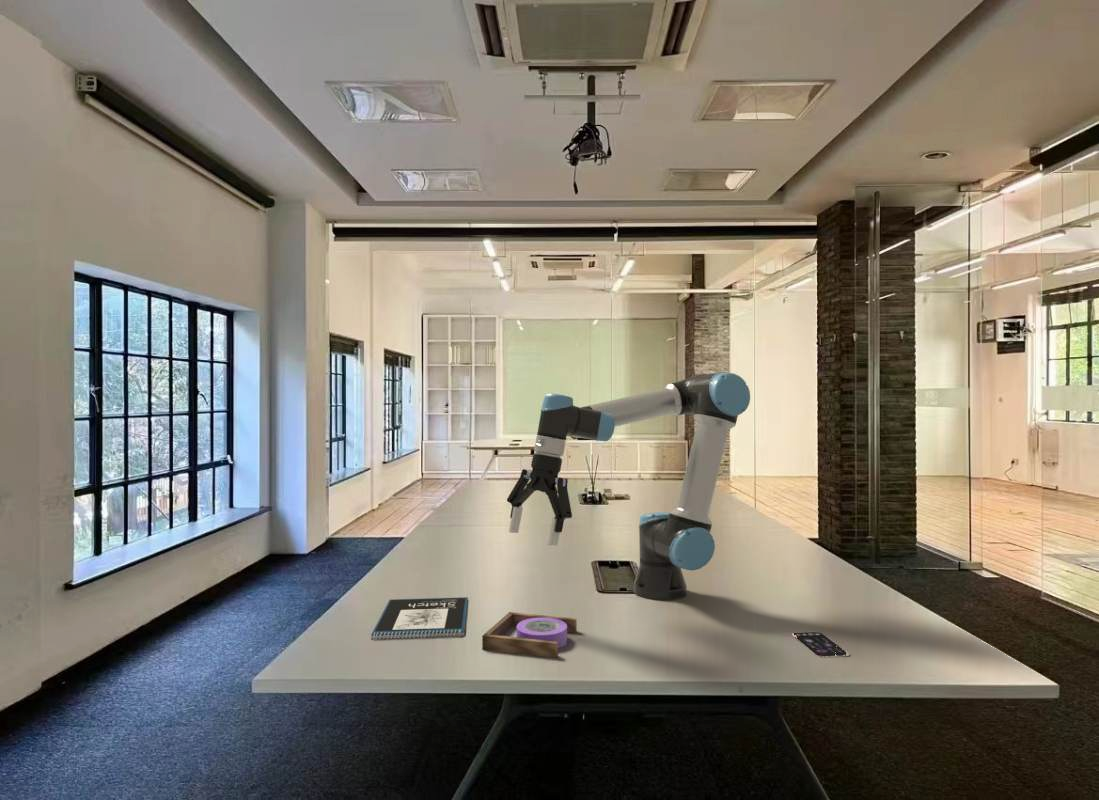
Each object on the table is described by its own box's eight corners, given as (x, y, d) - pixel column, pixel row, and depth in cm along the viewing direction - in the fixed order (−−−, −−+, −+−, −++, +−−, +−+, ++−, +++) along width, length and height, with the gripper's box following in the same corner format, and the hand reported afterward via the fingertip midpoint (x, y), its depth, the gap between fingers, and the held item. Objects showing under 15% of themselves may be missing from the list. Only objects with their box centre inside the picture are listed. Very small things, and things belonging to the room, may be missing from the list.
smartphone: (819, 631, 158) (852, 655, 143) (820, 634, 158) (852, 658, 143) (789, 632, 158) (818, 656, 143) (789, 635, 158) (818, 659, 143)
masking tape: (563, 653, 146) (562, 635, 146) (511, 649, 148) (511, 632, 148) (570, 634, 157) (570, 618, 157) (522, 632, 159) (522, 616, 159)
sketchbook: (467, 602, 185) (467, 594, 185) (463, 640, 155) (464, 631, 155) (389, 603, 183) (389, 596, 183) (370, 642, 153) (370, 633, 153)
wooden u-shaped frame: (576, 631, 159) (576, 618, 159) (556, 657, 143) (556, 643, 143) (509, 624, 164) (509, 612, 164) (482, 649, 148) (482, 635, 148)
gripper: (503, 446, 172) (488, 527, 171) (576, 460, 156) (560, 550, 154) (523, 449, 178) (508, 527, 177) (595, 464, 161) (580, 550, 160)
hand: (532, 538), depth 165 cm, fingers open, 13 cm apart
